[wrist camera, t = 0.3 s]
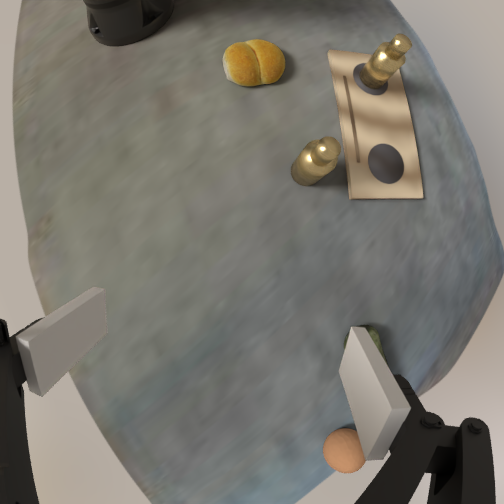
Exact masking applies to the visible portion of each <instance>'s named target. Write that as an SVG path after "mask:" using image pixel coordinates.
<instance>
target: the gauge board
mask: <svg viewBox="0 0 504 504" xmlns="http://www.w3.org/2000/svg"><path fill="white" fill-rule="evenodd" d="M371 56H372V55H369V54H362V53H355V52H347V51H338V50H329V52H328V58H329V63H330V68H331V73H332V78H333V83H334V89H335V94H336V100H337V106H338V112H339V118H340V125H341V132H342V139H343V146H344V154H345V162H346V171H347V180H348V190H349V199H421V198H423V189H422V181H421V173H420V166H419V159H418V153H417V147H416V141H415V135H414V130H413V125H412V120H411V115H410V111H409V106H408V102H407V98H406V94H405V90H404V86H403V82H402V78H401V75H400V71H399V69H398V70H397V71H396V72H395V73H394V74H393V75H392V76H391V77H390V78H389V79H388V80H387V81H386V82H385V83H384V84H383V86H382V87H381V88H379V89H370V88H368V87H366V86H365V85H364V84H363V83H362V82H361V80H360V77H359V73H360V71H361V70H362V68H363V67H364V66H365V64H366V63H367V62H368V60H369V59H370V58H371Z"/></svg>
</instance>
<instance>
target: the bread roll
mask: <svg viewBox="0 0 504 504" xmlns="http://www.w3.org/2000/svg"><path fill="white" fill-rule="evenodd" d="M222 60H223V66H224V70H225V74H226V75H227V79H228V80H229V81H231V82H234V83H236V84H238V85H241V86H256V85H261V84H271V83H274V82H276V81H277V80H278V79H279V78H280V77H281V75H282V74H283V72H284V68H285V58H284V55H283V53H282V51H281V50H280V49H279V48H278V47H277V46H276V45H274V44H273V43H270V42H268V41H264V40H260V39H259V40H258V39H255V40H249V41H246V42H238V43H235V44H233V45H231V46H229V47H228V48H227V49H226V51H225V54H224V57H223V59H222Z"/></svg>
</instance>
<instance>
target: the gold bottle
mask: <svg viewBox="0 0 504 504" xmlns="http://www.w3.org/2000/svg"><path fill="white" fill-rule="evenodd" d="M411 47H412V43H411V41H410V39H409V38H408V37H407V36H405V35H403V34H397V35H396V36H395V37H394V38H393V39H392V41H391V42H390V43H389V42H384V43H382V44H381V45H380V46H379V47H378V49H377V50H376V51H375V53H374V54H373V55H372V56H371V58H370V59H369V60H368V62H367V63H366V64H365V66H364V67H363V68H362V70H361V71H360V73H359V77H360V80H361V82H362V83H363V84H364V85H365V86H366V87H368V88H370V89H379V88H381V87H382V86H383V84H384V83H385V82H386V81H387V80H388V79H389V78H390V77H391V76H392V75H393V74H394V73H395V72H396V71H397V70H398V69H399V68H400V67H401V66H402V65H403V64H404V63H405V55H404V54H405V53H406V52H407V51H408V50H409V49H410V48H411Z"/></svg>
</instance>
